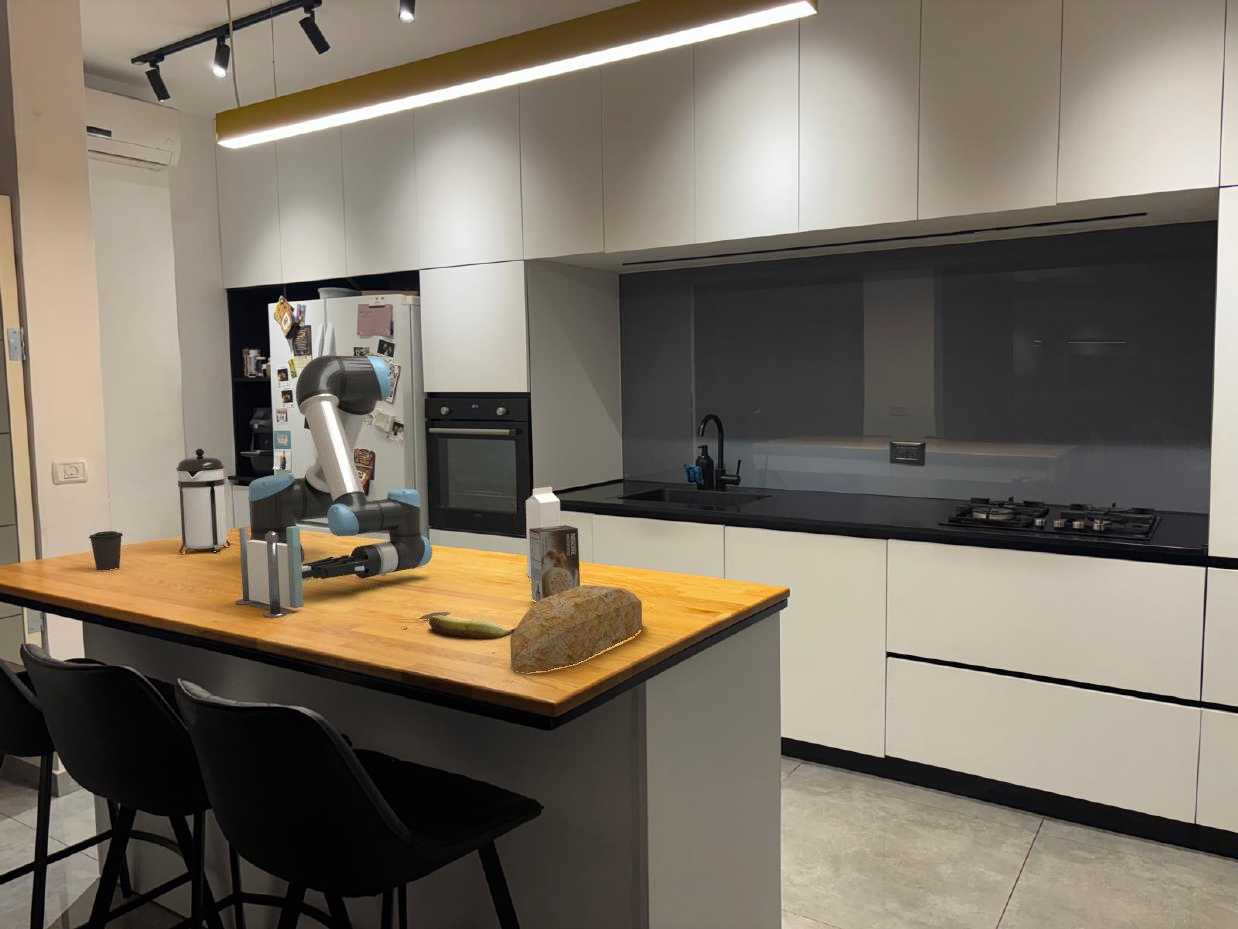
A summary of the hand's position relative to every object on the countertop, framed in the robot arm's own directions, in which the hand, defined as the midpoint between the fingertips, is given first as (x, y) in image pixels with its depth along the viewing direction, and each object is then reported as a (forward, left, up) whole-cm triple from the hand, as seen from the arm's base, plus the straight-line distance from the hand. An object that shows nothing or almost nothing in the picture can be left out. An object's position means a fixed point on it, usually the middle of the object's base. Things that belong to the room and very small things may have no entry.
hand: (282, 577), depth 204 cm
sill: (-4, -2, -7) cm, 8 cm away
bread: (+73, +16, -7) cm, 75 cm away
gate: (-2, -2, -6) cm, 7 cm away
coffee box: (+44, +39, -7) cm, 59 cm away
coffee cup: (-79, -4, -7) cm, 79 cm away
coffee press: (-86, +26, -7) cm, 90 cm away
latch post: (+5, -5, -7) cm, 10 cm away
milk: (+24, +56, -7) cm, 61 cm away
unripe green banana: (+49, +9, -7) cm, 51 cm away
